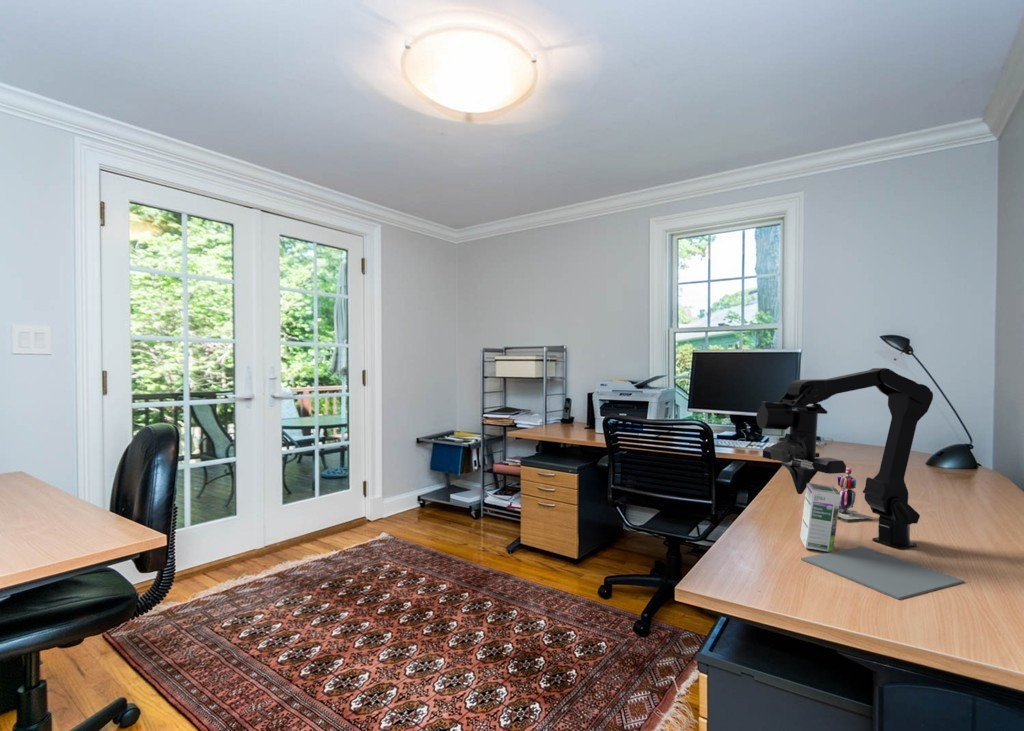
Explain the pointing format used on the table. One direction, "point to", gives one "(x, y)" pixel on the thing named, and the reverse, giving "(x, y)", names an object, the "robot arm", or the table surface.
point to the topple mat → (882, 572)
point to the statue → (848, 499)
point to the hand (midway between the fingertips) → (799, 493)
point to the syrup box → (820, 517)
